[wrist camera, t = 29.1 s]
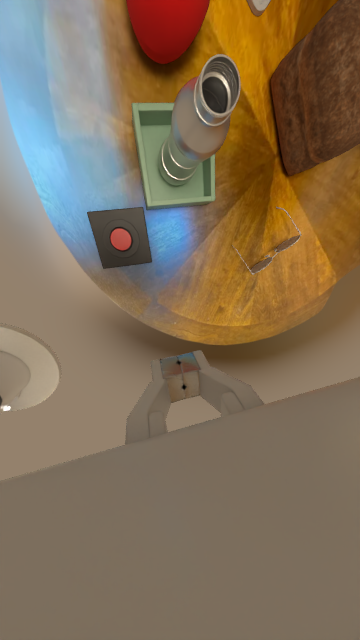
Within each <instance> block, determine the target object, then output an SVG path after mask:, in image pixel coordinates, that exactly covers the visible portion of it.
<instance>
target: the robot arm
mask: <svg viewBox="0 0 360 640" xmlns="http://www.w3.org/2000/svg"><path fill="white" fill-rule="evenodd" d="M151 369H152V379H153V382H150V384H149V385H148V387H147V388H146V390H145V391H144V393H143V394H142V396H141V397H140V399H139V400H138V402H137V404H136V405H135V407H134V408H133V410H132V411H131V413H130V415H129V416H128V418H127V425H126V442H125V445H123V446H119V447H116V448H112V449H109V450H106V451H102V452H99V453H96V454H92V455H88V456H85V457H82V458H78V459H75V460H71V461H68V462H64V463H61V464H57V465H54V466H51V467H47V468H43V469H40V470H37V471H33V472H30V473H27V474H23V475H19V476H16V477H12V478H9V479H5V480H2V481H0V640H360V377H358V378H355V379H351V380H348V381H344V382H341V383H337V384H334V385H330V386H327V387H324V388H320V389H317V390H313V391H310V392H306V393H303V394H299V395H296V396H292V397H289V398H286V399H282V400H278V401H275V402H272V403H268V404H264V403H263V401H262V400H261V399H260V398H259V396H258V395H257V394H256V392H255V391H254V390H253V388H252V387H251V386H250V385H248V384H246V383H244V382H242V381H240V380H238V379H236V378H234V377H232V376H230V375H228V374H226V373H224V372H222V371H220V370H218V369H216V368H214V367H210V365H209V364H208V362H207V360H206V358H205V357H204V355H203V353H202V351H201V350H199V351H195V352H192V353H187V354H183V355H179V356H174V357H169V358H163V359H160V360H155V361H151ZM29 381H30V371H29V369H28V367H27V366H26V364H25V363H24V362H23V361H22V360H20V359H19V358H17V357H16V356H14V355H12V354H9V353H7V352H3V351H0V414H1V413H2V412H3V411H4V410H9V409H10V407H7V406H8V405H9V404H10V403H11V402H12V401H16V400H17V399H18V398H19V397H20V394H21V391H22V389H23V388H24V387H26V386H27V384H28V383H29ZM199 395H200V396H201V397H202V398H203V399H205V400H206V401H207V402H209V403H210V404H211V405H212V406H213V407H214V408H216V409H217V410H218V411H219V412H220V413H221V417H220V418H217V419H213V420H209V421H206V422H203V423H199V424H195V425H192V426H189V427H185V428H182V429H178V430H175V431H171V432H168V430H167V426H166V421H165V419H166V416H167V413H168V411H169V408H170V405H171V403H173V402H176V401H180V400H183V399H186V398H191V397H195V396H199Z"/></svg>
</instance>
